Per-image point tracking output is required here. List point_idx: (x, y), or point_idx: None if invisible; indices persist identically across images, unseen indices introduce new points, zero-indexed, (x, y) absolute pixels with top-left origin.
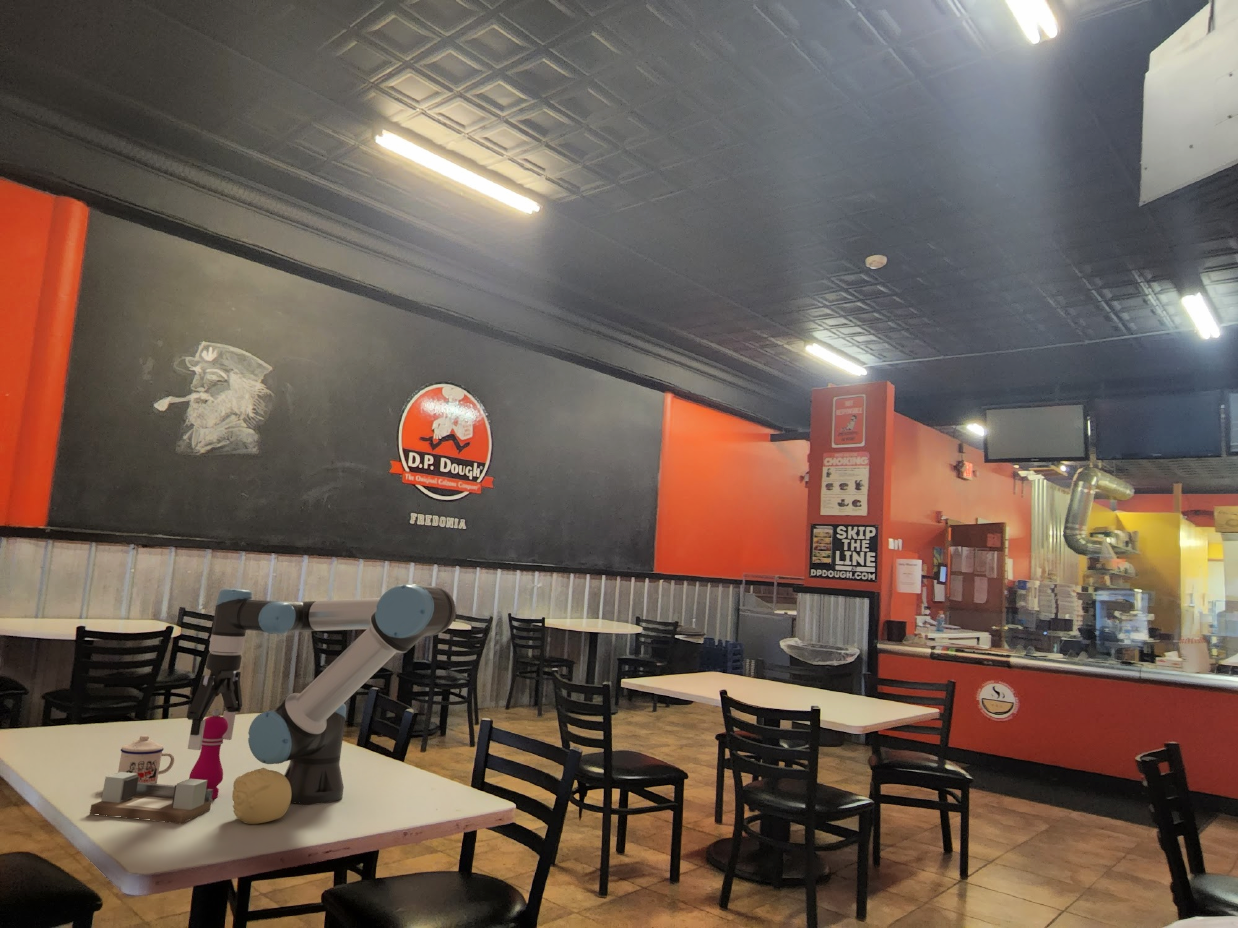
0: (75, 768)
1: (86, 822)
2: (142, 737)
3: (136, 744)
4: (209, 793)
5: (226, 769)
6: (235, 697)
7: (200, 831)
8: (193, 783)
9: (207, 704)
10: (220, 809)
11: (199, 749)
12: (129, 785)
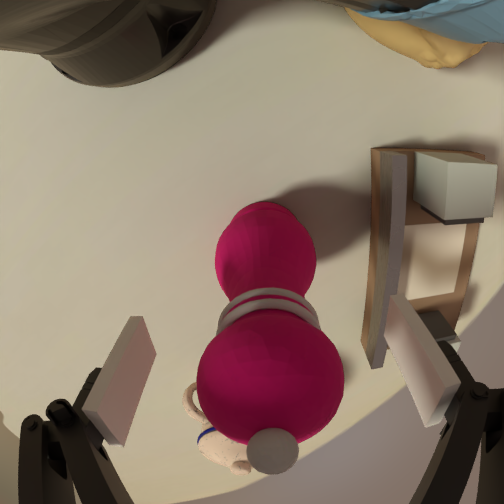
0: (204, 464)
1: (481, 297)
2: (250, 469)
3: None
4: (403, 154)
5: (52, 327)
6: (54, 483)
7: (495, 92)
8: (484, 178)
9: (470, 469)
10: (356, 126)
11: (399, 294)
12: (440, 328)
